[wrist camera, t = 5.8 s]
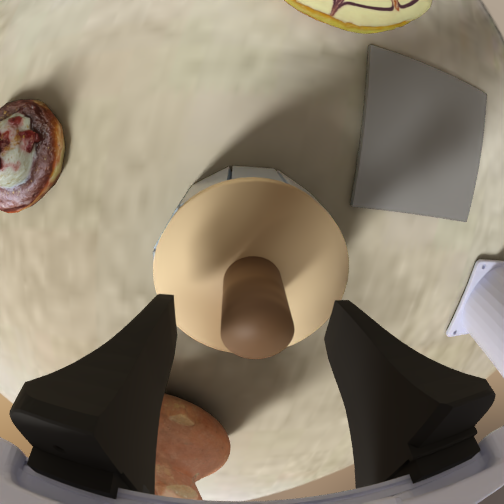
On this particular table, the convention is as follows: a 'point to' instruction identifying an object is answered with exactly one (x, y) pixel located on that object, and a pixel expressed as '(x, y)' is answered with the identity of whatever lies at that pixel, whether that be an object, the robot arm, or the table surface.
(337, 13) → the decorated donut
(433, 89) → the rubber mat
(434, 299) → the table surface
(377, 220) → the table surface
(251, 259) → the bamboo lid
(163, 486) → the ceramic jug
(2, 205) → the pastry
